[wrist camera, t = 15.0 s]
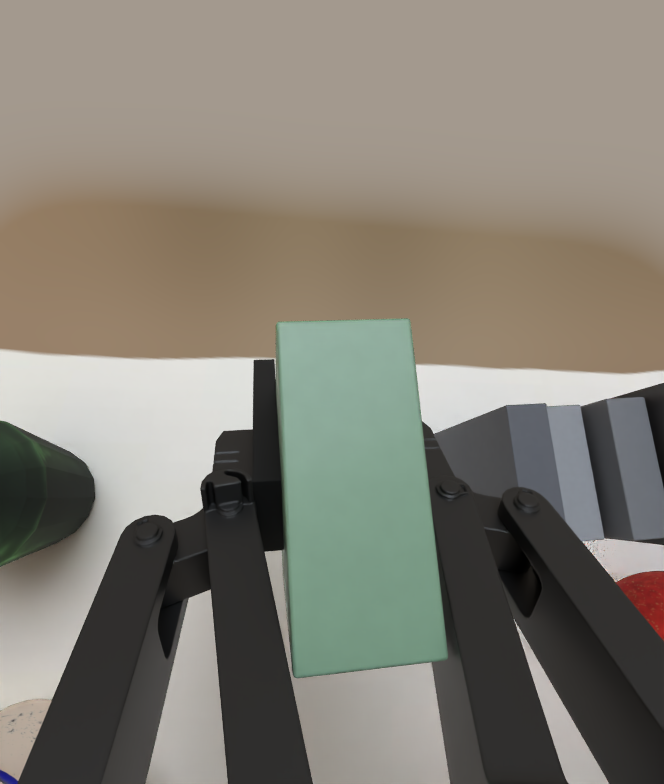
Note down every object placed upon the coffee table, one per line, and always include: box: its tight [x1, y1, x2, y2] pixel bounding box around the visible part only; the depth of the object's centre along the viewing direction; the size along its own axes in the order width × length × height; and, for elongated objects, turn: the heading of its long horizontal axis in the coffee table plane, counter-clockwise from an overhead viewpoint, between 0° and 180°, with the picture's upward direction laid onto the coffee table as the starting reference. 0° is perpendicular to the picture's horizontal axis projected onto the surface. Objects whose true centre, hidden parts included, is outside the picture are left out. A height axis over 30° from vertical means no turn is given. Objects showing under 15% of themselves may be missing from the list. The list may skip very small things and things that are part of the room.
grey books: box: [434, 383, 664, 545], centre depth 30 cm, size 8×8×15 cm
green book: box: [276, 318, 448, 678], centre depth 16 cm, size 3×7×13 cm, turn 4°
